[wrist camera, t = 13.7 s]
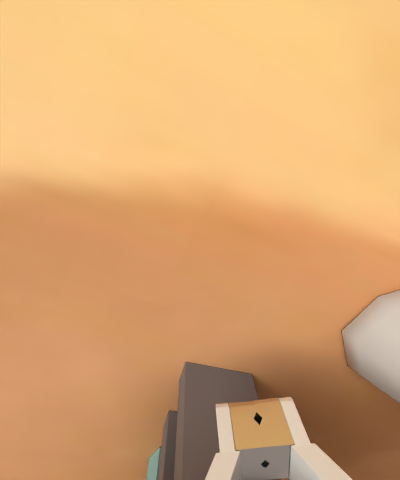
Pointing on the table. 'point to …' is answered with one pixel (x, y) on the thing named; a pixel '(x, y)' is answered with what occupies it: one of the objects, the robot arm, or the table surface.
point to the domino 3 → (204, 415)
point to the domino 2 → (168, 447)
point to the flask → (376, 344)
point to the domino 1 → (154, 465)
